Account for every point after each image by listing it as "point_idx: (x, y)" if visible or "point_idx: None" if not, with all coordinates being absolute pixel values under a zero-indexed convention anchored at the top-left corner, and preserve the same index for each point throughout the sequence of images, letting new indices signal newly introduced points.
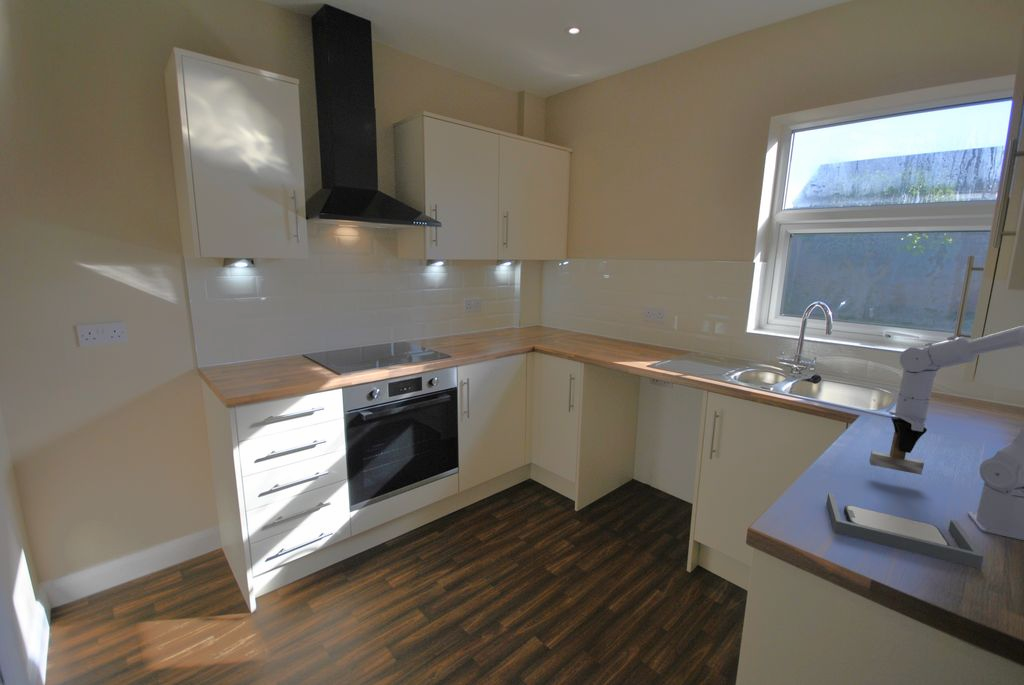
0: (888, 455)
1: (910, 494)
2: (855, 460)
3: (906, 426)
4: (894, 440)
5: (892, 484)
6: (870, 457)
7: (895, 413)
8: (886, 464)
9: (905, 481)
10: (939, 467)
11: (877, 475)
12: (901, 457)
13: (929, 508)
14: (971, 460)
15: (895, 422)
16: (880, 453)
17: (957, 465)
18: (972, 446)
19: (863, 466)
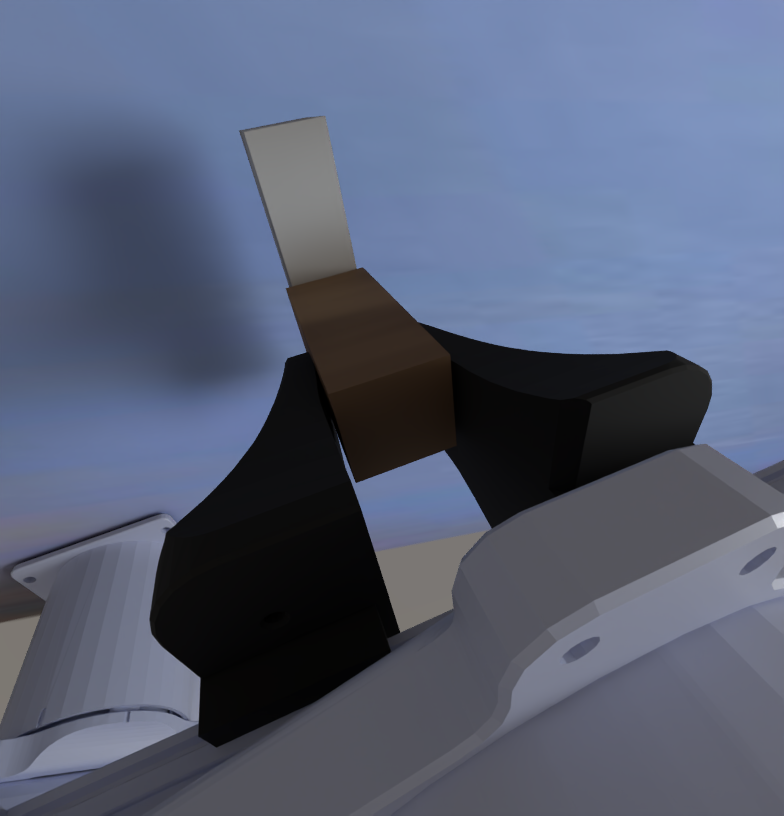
0: (318, 261)
1: (171, 349)
2: (495, 40)
3: (182, 661)
4: (353, 336)
5: (239, 267)
6: (299, 119)
7: (489, 688)
8: (276, 243)
9: None
10: None
11: None
12: (305, 347)
13: (59, 427)
14: None
15: (530, 415)
16: (316, 200)
17: None
18: (761, 424)
19: (416, 96)
